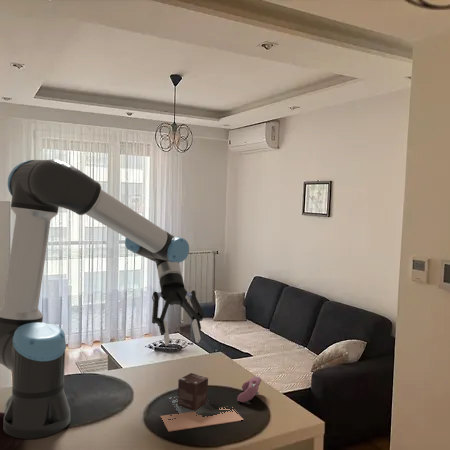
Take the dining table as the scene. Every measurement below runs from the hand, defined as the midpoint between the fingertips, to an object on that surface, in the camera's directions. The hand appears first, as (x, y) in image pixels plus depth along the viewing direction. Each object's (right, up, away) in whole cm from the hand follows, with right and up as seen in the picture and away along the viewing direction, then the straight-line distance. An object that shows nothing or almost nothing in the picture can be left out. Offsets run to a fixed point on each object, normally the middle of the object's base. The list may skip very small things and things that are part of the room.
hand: (183, 342), depth 136 cm
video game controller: (+19, -16, -2) cm, 25 cm away
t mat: (+4, -15, -12) cm, 20 cm away
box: (+3, -15, -9) cm, 18 cm away
